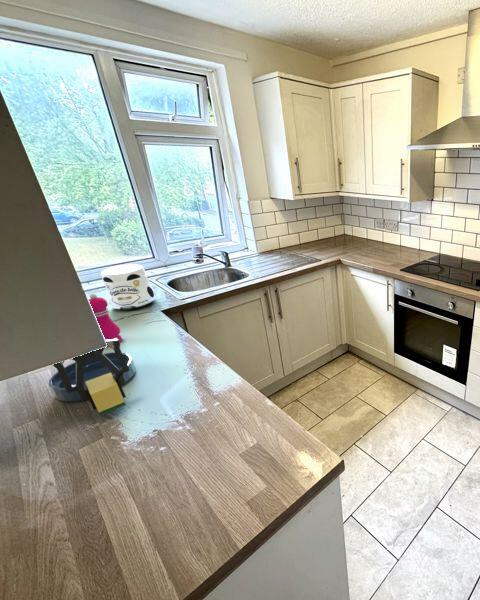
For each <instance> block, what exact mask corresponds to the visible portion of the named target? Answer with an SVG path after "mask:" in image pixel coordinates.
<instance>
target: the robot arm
mask: <svg viewBox="0 0 480 600" xmlns="http://www.w3.org/2000/svg"><path fill="white" fill-rule="evenodd" d="M105 341H106V343H107V345H109V346H108V347H109V348H112V351H113V352H115V354H116V356H117V358H118V360H119V362H120V364H121V368H120V369H118V368H117V367H116V366H115V365H114V364H113V363H112V362H111V361H110V360H109V359H108V358H107V357H106V356H105V355H104V353H105V352H104V350H105V348H106V347H104V348H102V349H99V350H96V351H92V352H90V353H87V354H84V355H82V356H78V357H75V358H73V359H71V360H72V361H74V362H75V365H76V385H71V382H70V380H69V378H68V375H67V373H66V370H65V368H64V367H65V365H64V364H65V360H64V361H63V362H60V363H57V364H54V365H52V366H53V367H54V368H55V369H56V370H57V372H58V373H59V375H60V377H61V380H62V382H63V384H64V386H65V389H66V391H67V392H68V393H71V392H73V391H77V392H78V393H79V395H80V397H81V399H82V401H83V402H84V401H85V402H86V401H87V400H88V401H89V403H90V405H91V407H92V409H93V411H95V410H97V408H96V405H95V403H94V401H93V399H92V397H91V395H90V392H89V390H88V387H87V385H85V386H84V362H87V361H89V360H91V359H96V358H98V359H99V360H101V361H102V362H103V363H104V364H105V365H106V366H107V367H108V368H109V369H110V370H111V371H112V372H113V373H114V374H115V375H112V376H113V378H114V380H115V381H116V383H117V385H118V387H119V390H120V392H121V394H122V397H123V399H124V398H127V396H126V394H125V392H124V389H123V386H126V385H127V382H125V380H124V377H123V374H124V373H125V372H128V371H129V367H128V365H127V363H126V361H125V358H124V356H123V354H122V353H123V352H122V350H121V342H120V341H119V340H118V338H113V339H110V340H105Z"/></svg>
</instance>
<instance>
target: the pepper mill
mask: <svg viewBox="0 0 480 600" xmlns="http://www.w3.org/2000/svg"><path fill="white" fill-rule="evenodd" d="M88 300H89V301H90V304H91V306H92V308H93V311H94V314H95V316H96V318H97V321H98V323H99V325H100V328H101V330H102V333H103V335H104V337H105V340H110V339H113V338H118V340H119V341H120V343H121V342H122V341H123V338H122V336H121V334H120V333H121V329H120V327H119V326H118V324H117V323H115V322H114V321H113V319H112V318H111V317H110V316H109V312H110V311H109V308H108V305H109V302H108V300H106V299H105V298H104V297H99V296H97V294H95V293H91V294H89V299H88ZM107 347H110V346H109V345H108V346H107Z"/></svg>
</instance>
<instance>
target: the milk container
mask: <svg viewBox="0 0 480 600" xmlns="http://www.w3.org/2000/svg"><path fill="white" fill-rule="evenodd" d="M100 276H101V280H102V281H103V285H104V286H105V289H106V293H107V296H106V297H107V303H108V305H110V307H111V308H113V309H114V310H119V311H128V310H129V311H130V310H135V309H140V308H142V307H146V306H147V305H150V304H151V303H152V302H153V301H155V299H156V298H155V297H156V293H155V291H154V288H153V287H152V285H151V284H150V283H149V280H148V276H147V274H146V270H145V268H144V267H143V265H142V264H122V265H117V266H113V267H109V268H106V269H103V270H102V271H101V272H100Z"/></svg>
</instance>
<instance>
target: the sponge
mask: <svg viewBox="0 0 480 600" xmlns="http://www.w3.org/2000/svg"><path fill="white" fill-rule="evenodd" d="M85 383H86V385H87V387H88V390H89V392H90V395H91V397H92V399H93V401H94V403H95V405H96V408H97V409H96V410H97V412H98V414H99V416H102V415H105V414H108V413H110V412H112V411H114V410H117V409H119V408H122V407H124V406H126V405H127V404H126V401H125V399H124V398H123V397H122V394H121V392H120V390H119V387H118V385H117V383H116V381H115V380H114V378H113V376H112V374H111V373H108V374H105V375H102V376H100V377H97V378H94V379H91V380H88V381H86V382H85Z"/></svg>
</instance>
